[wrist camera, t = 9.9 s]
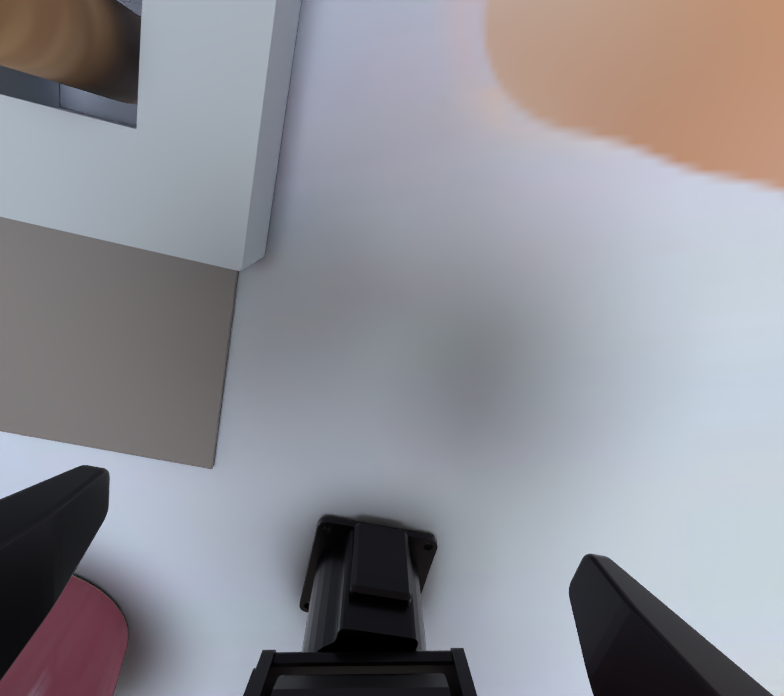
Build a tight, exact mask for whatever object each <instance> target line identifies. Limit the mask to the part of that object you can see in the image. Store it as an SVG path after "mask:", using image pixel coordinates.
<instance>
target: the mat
mask: <svg viewBox="0 0 784 696" xmlns="http://www.w3.org/2000/svg"><path fill="white" fill-rule="evenodd" d="M237 278H238V271H237V270H232V269H228V268H223V267H219V266H215V265H210V264H206V263H202V262H197V261H193V260H188V259H184V258H180V257H175V256H171V255H166V254H162V253H158V252H153V251H149V250H144V249H140V248H136V247H131V246H127V245H122V244H118V243H114V242H109V241H105V240H101V239H96V238H92V237H87V236H83V235H79V234H74V233H70V232H65V231H61V230H57V229H52V228H48V227H43V226H39V225H35V224H30V223H26V222H21V221H17V220H13V219H8V218H4V217H0V431H2V432H8V433H13V434H19V435H25V436H30V437H36V438H41V439H47V440H53V441H58V442H64V443H69V444H75V445H80V446H86V447H92V448H97V449H103V450H108V451H114V452H119V453H125V454H131V455H136V456H142V457H147V458H153V459H158V460H164V461H170V462H175V463H181V464H186V465H192V466H197V467H203V468H209V469H212V468H213V466H214V460H215V452H216V444H217V436H218V428H219V420H220V412H221V404H222V396H223V388H224V380H225V373H226V365H227V357H228V349H229V341H230V333H231V325H232V317H233V309H234V301H235V293H236V285H237Z"/></svg>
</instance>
